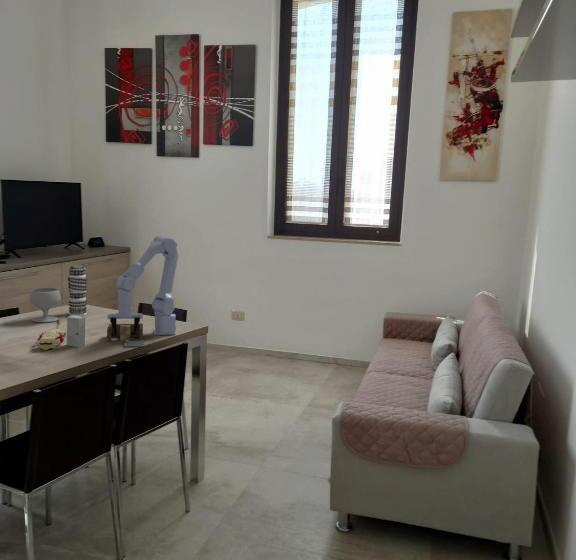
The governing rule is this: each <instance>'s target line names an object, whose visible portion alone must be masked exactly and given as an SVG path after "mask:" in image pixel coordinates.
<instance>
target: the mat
mask: <svg viewBox="0 0 576 560" xmlns="http://www.w3.org/2000/svg"><path fill="white" fill-rule="evenodd" d="M144 347H145V340H142V341H139V340H130V341H124V343H123V348H126V349H127V348H144Z"/></svg>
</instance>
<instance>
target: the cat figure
mask: <svg viewBox="0 0 576 560" xmlns="http://www.w3.org/2000/svg"><path fill="white" fill-rule="evenodd" d="M55 322H56V328H55V329H53V330H50V332H49V333H47V331H43V332H41V334H39V337H38V338H37V341H35V342H34V345H37V346H38V348H40V349H42V350H43V351H48V350H49V349H53V348H56V347H57V346H60V345H61V344H63V342H64V341H65V338H64V337H65V336H67V332H65V329H62V330H60V325H61V320H60V318H59V319H57V321H55ZM45 333H47V335H46V336H43V335H44V334H45ZM57 338H58V339H59V340H58V339H57Z"/></svg>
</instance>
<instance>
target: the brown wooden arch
mask: <svg viewBox="0 0 576 560" xmlns="http://www.w3.org/2000/svg"><path fill="white" fill-rule="evenodd" d="M121 325H130V337H139V340H138V341H143V339H144V338H143V336H144V323H141V322H139V324H138V326H137V329H136V333H135V335H134V323H116V327H117V336H115V332H114V328H113V326H112V324H111V323H109V324H108V326H107V329H106V342H107V343H111V340H112V338H114V337H118V338H119V337H120V326H121Z"/></svg>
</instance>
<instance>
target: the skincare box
mask: <svg viewBox="0 0 576 560" xmlns="http://www.w3.org/2000/svg"><path fill="white" fill-rule="evenodd" d="M85 339H86V316H84V315H83V316H76V315H72V316H71V315H69V316H67V317H66V346H67V347H75V348H81V347H83V346H85V343H86V340H85ZM80 346H81V347H80Z"/></svg>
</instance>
